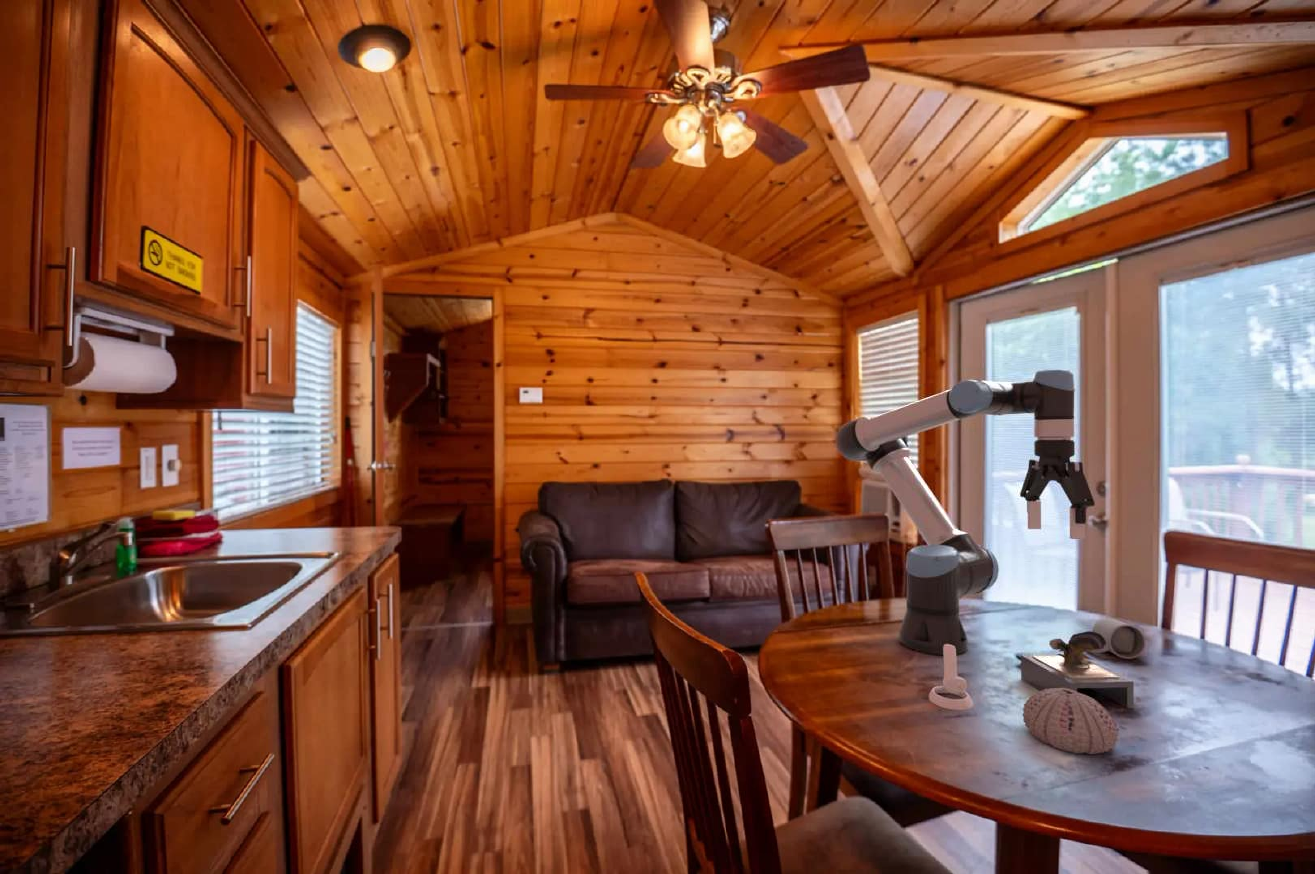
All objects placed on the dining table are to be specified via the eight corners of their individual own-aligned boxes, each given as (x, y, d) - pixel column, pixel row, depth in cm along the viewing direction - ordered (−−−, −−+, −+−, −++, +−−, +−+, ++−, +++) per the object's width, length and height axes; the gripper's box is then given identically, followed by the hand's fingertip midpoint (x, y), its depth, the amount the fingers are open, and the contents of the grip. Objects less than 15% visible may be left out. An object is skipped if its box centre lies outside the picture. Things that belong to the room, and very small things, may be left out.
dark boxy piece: (1070, 709, 109) (1070, 681, 109) (1021, 678, 123) (1020, 653, 123) (1133, 708, 109) (1133, 679, 109) (1077, 677, 123) (1076, 652, 123)
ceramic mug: (1122, 646, 141) (1121, 614, 141) (1146, 659, 133) (1145, 625, 133) (1075, 646, 143) (1074, 614, 143) (1096, 658, 134) (1095, 624, 134)
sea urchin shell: (1140, 753, 94) (1140, 703, 94) (1076, 767, 90) (1075, 714, 90) (1062, 716, 107) (1062, 671, 107) (1003, 726, 103) (1002, 680, 103)
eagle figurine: (1097, 670, 111) (1117, 652, 116) (1071, 634, 113) (1091, 618, 118) (1061, 679, 117) (1082, 662, 121) (1037, 645, 119) (1058, 629, 124)
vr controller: (956, 658, 121) (974, 649, 115) (962, 720, 114) (982, 714, 109) (920, 650, 121) (936, 640, 116) (924, 712, 115) (941, 705, 109)
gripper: (1115, 438, 120) (1116, 543, 120) (1033, 438, 145) (1033, 525, 145) (1079, 439, 120) (1080, 543, 120) (1003, 439, 145) (1003, 525, 145)
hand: (1054, 533), depth 132 cm, fingers open, 13 cm apart
